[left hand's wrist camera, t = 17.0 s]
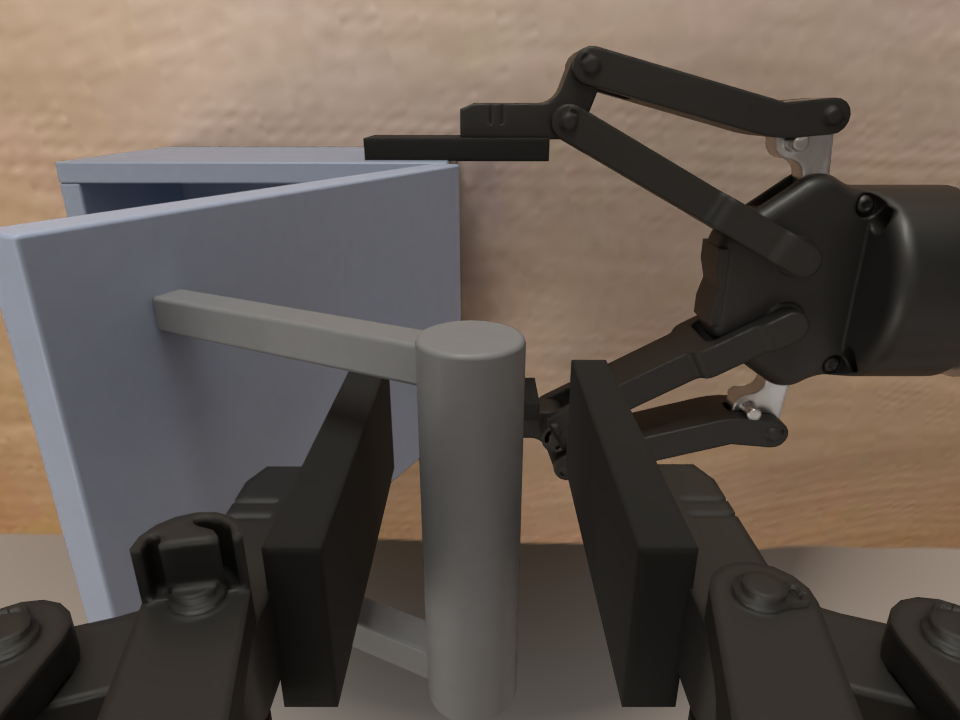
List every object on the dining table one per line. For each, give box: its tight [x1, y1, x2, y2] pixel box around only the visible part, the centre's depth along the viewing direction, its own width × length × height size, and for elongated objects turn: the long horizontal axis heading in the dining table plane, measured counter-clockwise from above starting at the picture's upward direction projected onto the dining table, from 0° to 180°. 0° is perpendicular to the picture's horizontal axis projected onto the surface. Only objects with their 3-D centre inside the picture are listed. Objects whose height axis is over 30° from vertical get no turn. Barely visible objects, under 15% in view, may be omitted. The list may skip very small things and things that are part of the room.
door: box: [0, 163, 526, 720], centre depth 16 cm, size 14×10×8 cm
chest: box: [55, 147, 456, 217], centre depth 28 cm, size 13×10×9 cm
